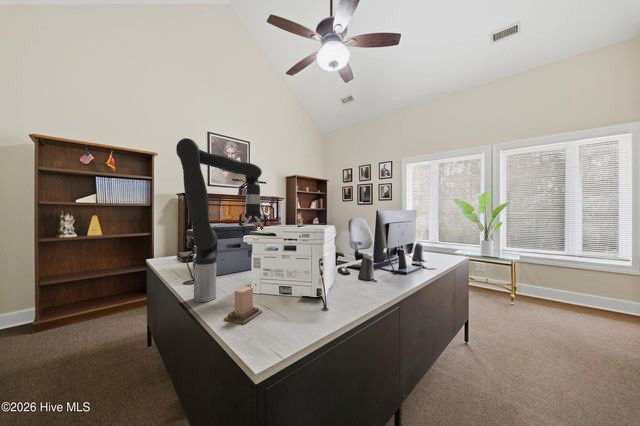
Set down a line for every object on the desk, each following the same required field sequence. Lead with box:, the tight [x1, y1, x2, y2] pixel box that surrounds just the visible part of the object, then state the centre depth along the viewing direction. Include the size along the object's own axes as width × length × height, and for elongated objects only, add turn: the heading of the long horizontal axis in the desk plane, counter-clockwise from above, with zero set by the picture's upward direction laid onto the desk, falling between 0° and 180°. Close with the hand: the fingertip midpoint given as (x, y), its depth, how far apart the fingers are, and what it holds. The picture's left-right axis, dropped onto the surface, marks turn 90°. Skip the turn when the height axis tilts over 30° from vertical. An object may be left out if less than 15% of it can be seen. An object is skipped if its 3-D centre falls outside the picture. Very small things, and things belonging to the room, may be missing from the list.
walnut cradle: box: [223, 306, 263, 326], centre depth 96 cm, size 10×12×3 cm
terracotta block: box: [234, 286, 254, 317], centre depth 96 cm, size 4×6×10 cm, turn 158°
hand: (252, 233), depth 127 cm, fingers open, 8 cm apart
